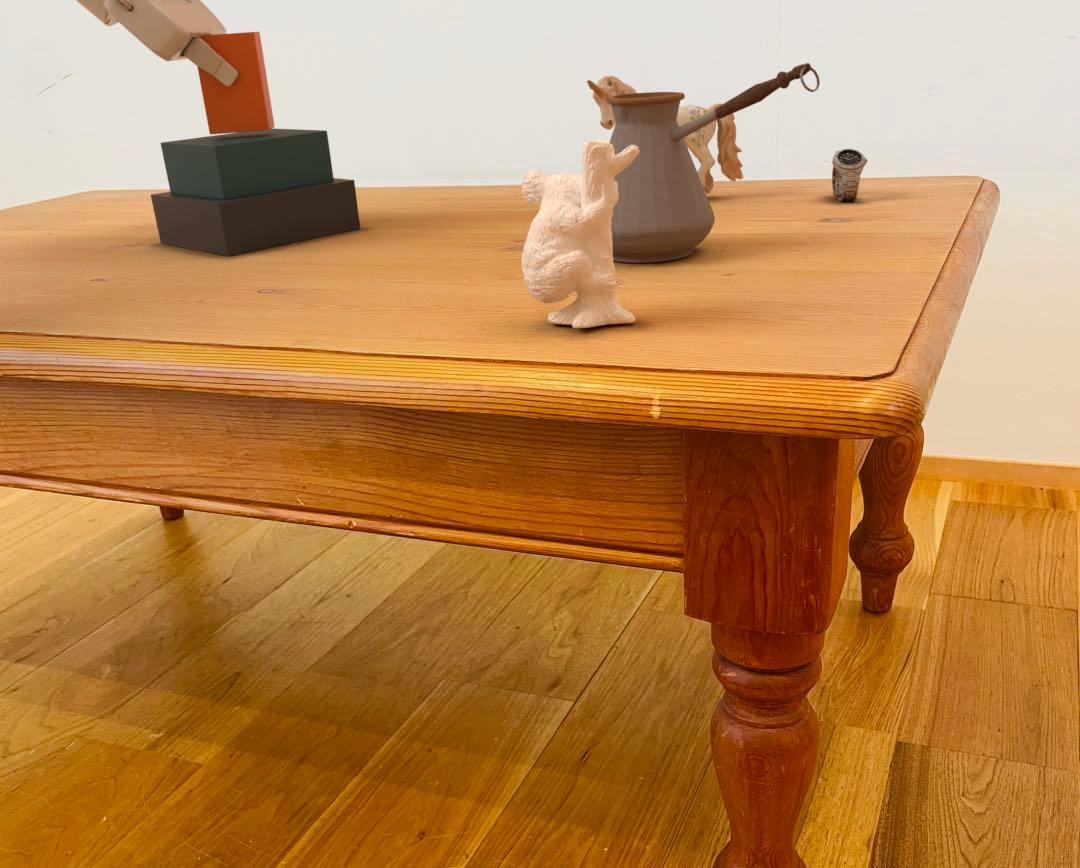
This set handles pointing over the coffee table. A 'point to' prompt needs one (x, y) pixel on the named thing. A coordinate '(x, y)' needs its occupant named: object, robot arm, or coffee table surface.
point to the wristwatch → (847, 174)
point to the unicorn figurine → (693, 141)
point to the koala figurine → (576, 238)
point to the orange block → (237, 86)
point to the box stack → (252, 192)
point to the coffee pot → (668, 172)
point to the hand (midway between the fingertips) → (239, 79)
